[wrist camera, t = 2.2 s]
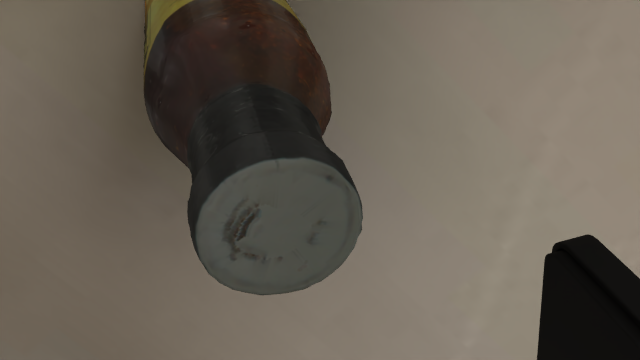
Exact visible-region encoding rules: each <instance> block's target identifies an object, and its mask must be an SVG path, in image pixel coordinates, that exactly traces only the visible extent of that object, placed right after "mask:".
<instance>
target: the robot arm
mask: <svg viewBox="0 0 640 360" xmlns="http://www.w3.org/2000/svg"><path fill="white" fill-rule="evenodd" d="M537 360H640V279H639V278H638V277H637V276H636V275H635V274H634V273H633V272H632V271H631V270H630V269H629V268H628V267H627V266H625V265H624V264H623V263H622V262H621V261H620V260H619V259H618V258H617V257H616V256H615V255H614V254H613V253H612V252H610V251H609V250H608V249H607V248H606V247H605V246H604V245H603V244H602V243H601V242H600V241H599V240H598V239H596V238H595V237H594V236H592V235H584V236H580V237H576V238H573V239H569V240H565V241H561V242H558V243H555V245H554V246H553V249H552V253H550V254H547V255H546V257H545V263H544V276H543V289H542V302H541V315H540V328H539V341H538V354H537Z"/></svg>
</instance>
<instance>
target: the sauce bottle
mask: <svg viewBox="0 0 640 360" xmlns="http://www.w3.org/2000/svg"><path fill="white" fill-rule="evenodd" d="M144 28H145V30H144V34H145V42H144V98H145V106H146V110H147V114H148V117H149V120H150V122H151V124H152V127H153V129H154V131H155V133H156V134H157V136H158V137H159V138H160V140H161V141H162V143H163V144H164V145H165V146H166V147H167V148H168V149H169V150H170V151H171V152H172V153H173V154H174V155H175V156H176V157H177V158H178V159H179V160H180V161H182V162H183V163H184V164H185V165H186V166H187V167H188V168H189V169H190V172H191V174H192V186H191V192H190V198H189V200H188V211H187V213H188V223H189V226H190V231H191V238H192V241H193V245H194V248H195V250H196V253H197V255H198V257H199V259H200V261H201V262H202V264H203V265H204V267H205V269H206V270H207V272H208V273H209V274H210V275H211V276H212V277H214V278H215V279H216V280H217V281H218V282H220V283H221V284H223V285H225V286H227V287H229V288H231V289H233V290H237V291H241V292H246V293H252V294H257V295H272V294H282V293H289V292H294V291H298V290H303V289H306V288H308V287H310V286H311V285H313V284H315V283H318V282H320V281H322V280H323V279H325V278H326V277H327V276H329V275H330V274H332V273H333V272H334V271H335V270H336V269H337V268H339V267H340V266H341V265H342V264H343V262H344V261H345V260H346V259H347V257H348V256H349V254H350V253H351V251H352V250H353V249H354V246H355V244H356V241H357V238H358V236H359V234H360V233H361V230H362V224H361V223H362V219H363V214H362V204H361V200H360V197H359V194H358V192H357V189H356V187H355V185H354V182H353V180H352V178H351V176H350V174H349V172H348V170H347V169H346V166H345V164H344V162H343V160H342V159H340V158H339V157H338V156H337V155H336V154H335V153H333V152H332V151H331V150H330V149H329V148H328V147H326V145H325V143H324V141H323V140H322V136H323V134H324V132H325V130H326V127H327V125H328V123H329V120H330V117H331V113H332V112H331V101H330V83H329V81H328V77H327V73H326V70H325V66H324V64H323V62H322V60H321V57H320V55H319V54H318V53H317V51H316V49H315V47H314V45H313V43H312V42H311V39H310V37H309V35H308V33H307V31H306V29H305V28H304V26H303V25H302V23H301V22H300V20H299V19H298V18H297V16H296V15H295V13H294V12H293V10H292V9H291V8H290V6H289V5H288V3H287V2H286V0H145V27H144Z"/></svg>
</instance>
